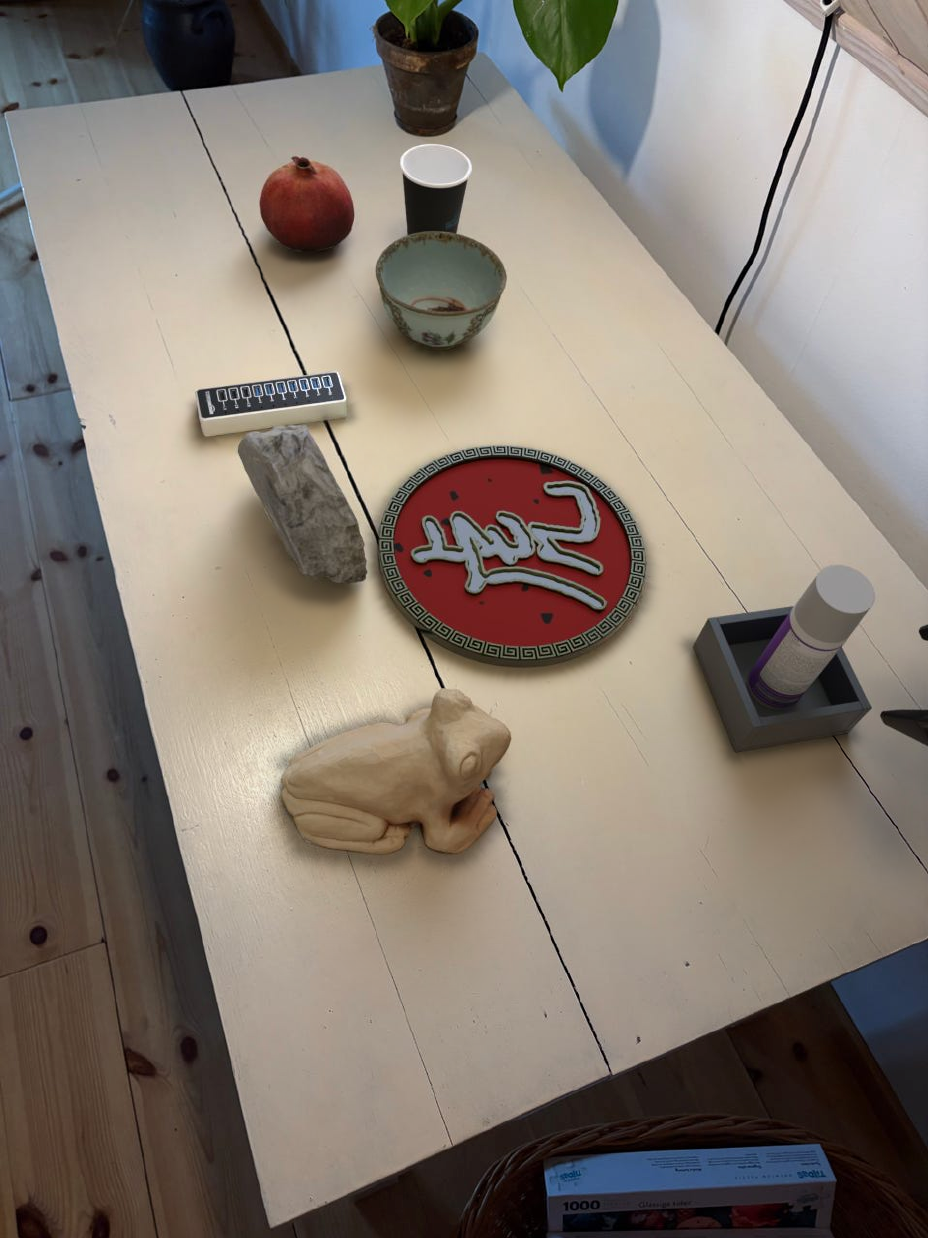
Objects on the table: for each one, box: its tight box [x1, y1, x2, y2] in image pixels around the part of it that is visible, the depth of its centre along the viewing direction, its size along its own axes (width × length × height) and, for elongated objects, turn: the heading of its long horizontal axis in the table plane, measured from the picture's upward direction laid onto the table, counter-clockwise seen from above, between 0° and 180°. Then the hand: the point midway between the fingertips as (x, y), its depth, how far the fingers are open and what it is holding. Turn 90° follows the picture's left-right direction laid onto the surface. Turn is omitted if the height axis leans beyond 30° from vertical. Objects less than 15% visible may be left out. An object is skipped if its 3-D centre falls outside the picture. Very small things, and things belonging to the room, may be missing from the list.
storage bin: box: [692, 605, 872, 753], centre depth 81 cm, size 11×11×5 cm
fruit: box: [258, 155, 355, 253], centre depth 107 cm, size 11×10×10 cm
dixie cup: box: [399, 143, 473, 235], centre depth 108 cm, size 8×8×11 cm
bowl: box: [375, 231, 508, 351], centre depth 101 cm, size 14×13×8 cm
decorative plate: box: [377, 444, 647, 668], centre depth 88 cm, size 25×1×25 cm
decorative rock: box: [237, 424, 368, 585], centre depth 81 cm, size 16×7×15 cm, turn 28°
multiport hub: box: [194, 371, 348, 437], centre depth 95 cm, size 4×14×2 cm, turn 106°
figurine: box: [280, 687, 512, 855], centre depth 71 cm, size 12×17×10 cm
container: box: [747, 564, 876, 710], centre depth 76 cm, size 5×5×15 cm
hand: (902, 674), depth 72 cm, fingers open, 9 cm apart
